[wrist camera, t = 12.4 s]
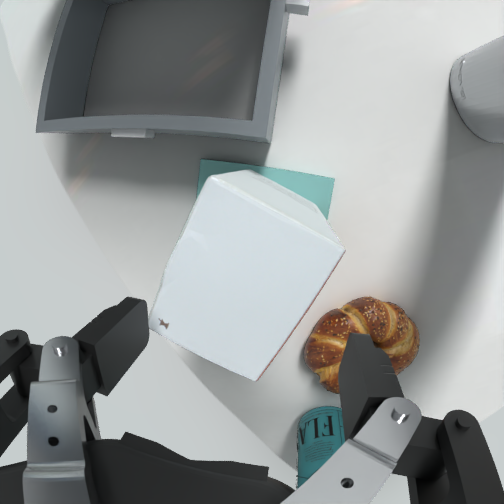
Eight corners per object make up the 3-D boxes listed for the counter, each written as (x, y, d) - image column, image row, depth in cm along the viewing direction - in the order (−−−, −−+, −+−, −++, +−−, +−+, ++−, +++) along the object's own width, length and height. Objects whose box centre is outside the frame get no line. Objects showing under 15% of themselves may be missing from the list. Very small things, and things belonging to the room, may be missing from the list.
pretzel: (423, 289, 26) (439, 306, 22) (402, 375, 29) (412, 396, 25) (305, 293, 27) (308, 312, 23) (300, 382, 30) (301, 405, 27)
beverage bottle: (334, 387, 30) (350, 555, 11) (359, 415, 31) (381, 559, 12) (286, 410, 31) (273, 566, 12) (314, 436, 33) (314, 573, 14)
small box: (272, 284, 26) (255, 386, 14) (207, 251, 26) (140, 328, 14) (319, 203, 24) (350, 249, 11) (249, 166, 23) (204, 171, 11)
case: (312, -28, 17) (321, -126, 4) (289, 153, 23) (292, 142, 10) (109, -16, 19) (34, -67, 6) (73, 139, 25) (-36, 144, 12)
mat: (333, 178, 23) (334, 178, 23) (311, 289, 27) (311, 292, 26) (202, 159, 24) (200, 159, 24) (192, 269, 27) (190, 271, 27)
